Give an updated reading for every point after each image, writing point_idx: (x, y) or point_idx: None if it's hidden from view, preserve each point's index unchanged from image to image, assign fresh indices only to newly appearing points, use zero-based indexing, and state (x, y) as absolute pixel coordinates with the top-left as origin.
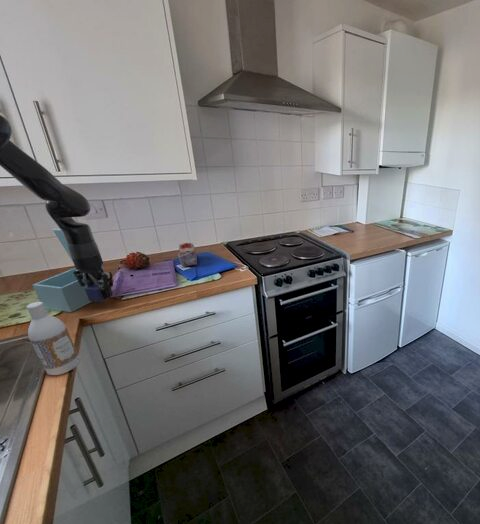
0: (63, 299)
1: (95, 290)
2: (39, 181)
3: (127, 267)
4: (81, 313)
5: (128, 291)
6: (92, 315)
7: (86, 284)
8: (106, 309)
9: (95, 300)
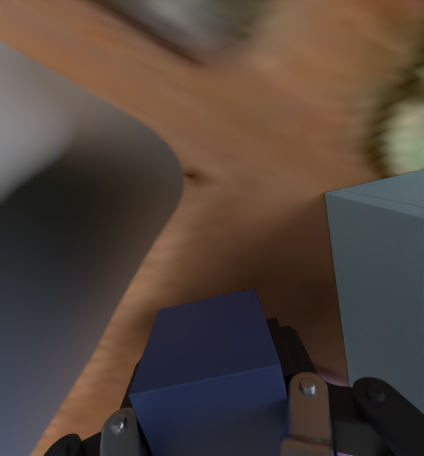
0: (406, 200)
1: (142, 384)
2: None
3: None
4: (256, 211)
5: None
6: (175, 226)
7: (305, 421)
8: (175, 291)
9: (196, 304)
